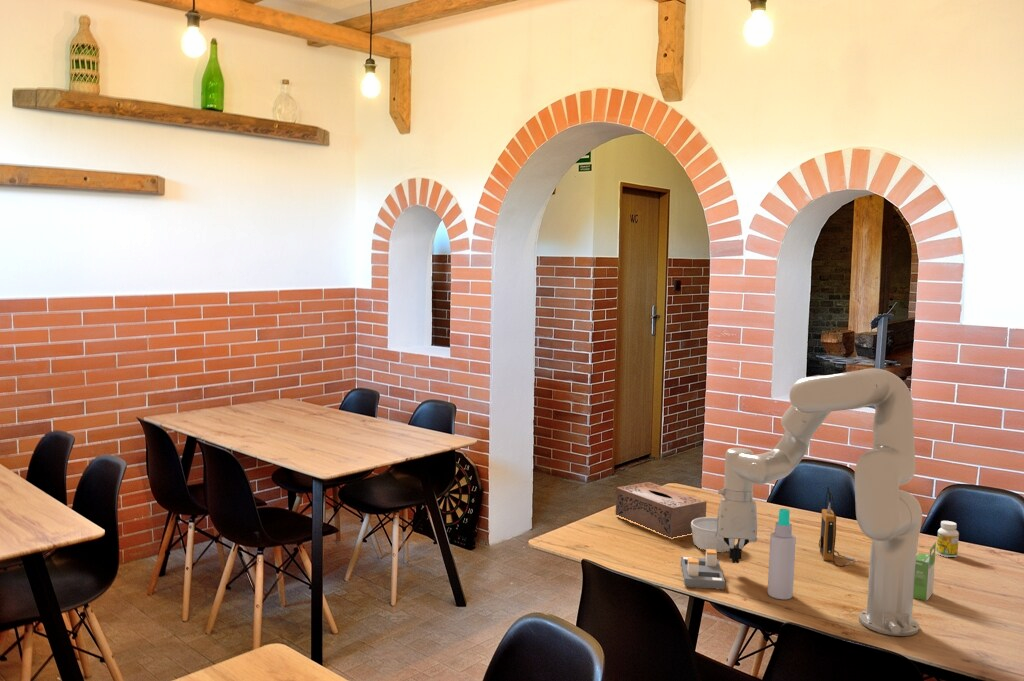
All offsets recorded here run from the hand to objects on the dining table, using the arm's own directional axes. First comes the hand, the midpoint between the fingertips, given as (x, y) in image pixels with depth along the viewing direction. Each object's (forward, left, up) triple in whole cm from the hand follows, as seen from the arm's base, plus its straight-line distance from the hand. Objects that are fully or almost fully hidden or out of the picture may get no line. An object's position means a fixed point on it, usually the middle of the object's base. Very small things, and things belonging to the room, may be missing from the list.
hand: (735, 561), depth 219 cm
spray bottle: (-13, -10, -4) cm, 17 cm away
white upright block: (-8, +12, -3) cm, 15 cm away
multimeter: (+18, -32, -4) cm, 37 cm away
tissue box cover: (+39, +18, -4) cm, 43 cm away
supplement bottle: (+27, -64, -4) cm, 69 cm away
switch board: (-4, +9, -3) cm, 10 cm away
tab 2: (0, +6, -3) cm, 7 cm away
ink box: (-6, -46, -4) cm, 46 cm away
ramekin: (+21, +3, -4) cm, 22 cm away
